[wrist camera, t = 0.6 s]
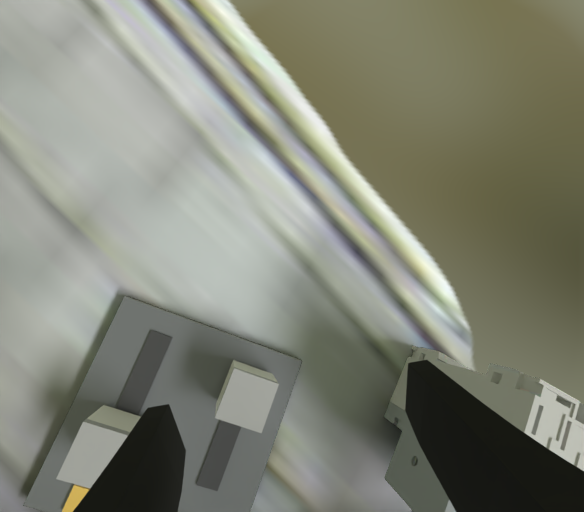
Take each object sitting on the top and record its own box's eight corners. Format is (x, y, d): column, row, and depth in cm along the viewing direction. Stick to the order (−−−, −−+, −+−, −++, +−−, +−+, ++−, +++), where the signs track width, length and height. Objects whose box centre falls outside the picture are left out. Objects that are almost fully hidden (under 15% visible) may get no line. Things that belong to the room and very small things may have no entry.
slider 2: (257, 416, 30) (261, 433, 26) (216, 402, 29) (214, 418, 25) (272, 373, 30) (278, 384, 27) (233, 359, 30) (234, 368, 26)
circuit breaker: (360, 475, 32) (468, 617, 18) (412, 345, 35) (541, 375, 21) (421, 505, 33) (573, 665, 18) (467, 375, 36) (628, 424, 22)
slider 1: (128, 467, 27) (111, 494, 23) (81, 453, 27) (56, 479, 23) (149, 419, 28) (136, 438, 24) (103, 404, 27) (83, 421, 23)
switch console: (232, 553, 29) (232, 564, 28) (30, 498, 27) (20, 508, 25) (299, 359, 33) (302, 361, 31) (127, 296, 30) (123, 295, 29)
